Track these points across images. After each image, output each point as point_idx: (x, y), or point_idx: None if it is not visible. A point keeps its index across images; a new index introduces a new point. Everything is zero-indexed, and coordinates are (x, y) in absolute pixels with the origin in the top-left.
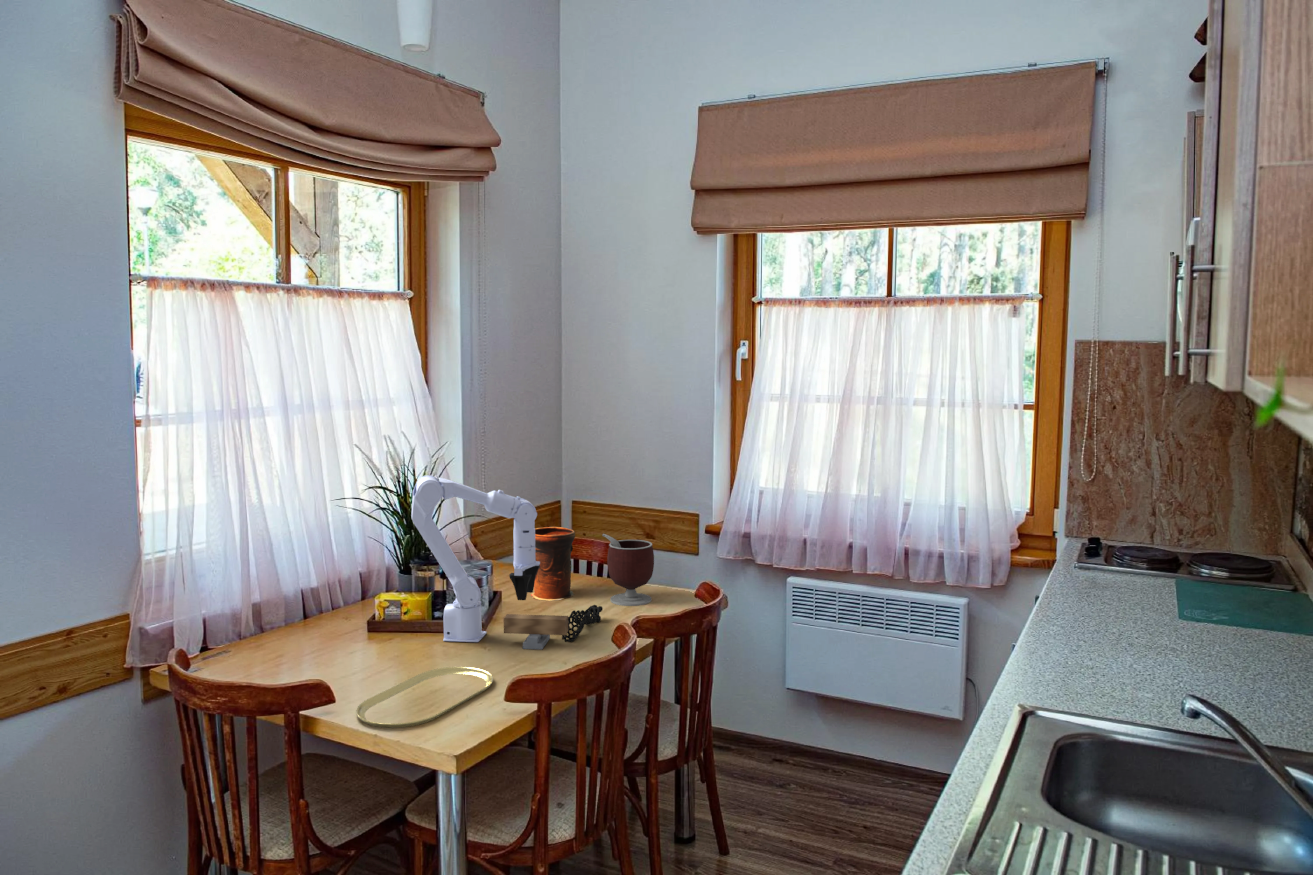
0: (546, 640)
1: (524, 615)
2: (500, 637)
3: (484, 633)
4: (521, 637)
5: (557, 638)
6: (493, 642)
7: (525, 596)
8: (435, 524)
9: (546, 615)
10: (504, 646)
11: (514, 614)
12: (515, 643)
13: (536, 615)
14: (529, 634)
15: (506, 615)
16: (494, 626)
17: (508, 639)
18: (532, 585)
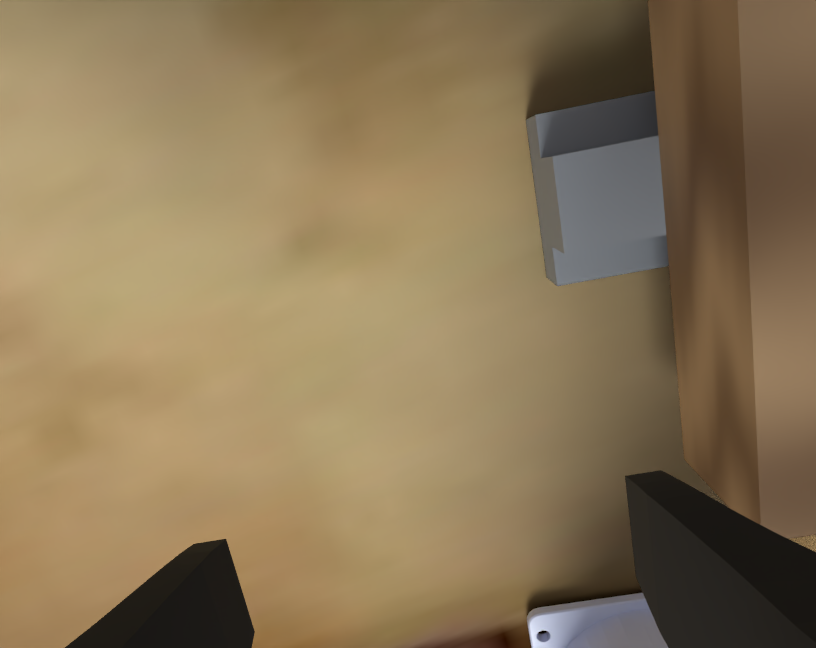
0: None
1: (791, 340)
2: (587, 490)
3: (579, 611)
4: (553, 351)
5: (510, 53)
6: (707, 489)
7: (698, 495)
8: None
9: (751, 60)
10: None
11: (766, 463)
12: None
13: (770, 196)
14: (620, 272)
15: (813, 527)
16: (363, 621)
17: (620, 420)
18: (172, 613)
